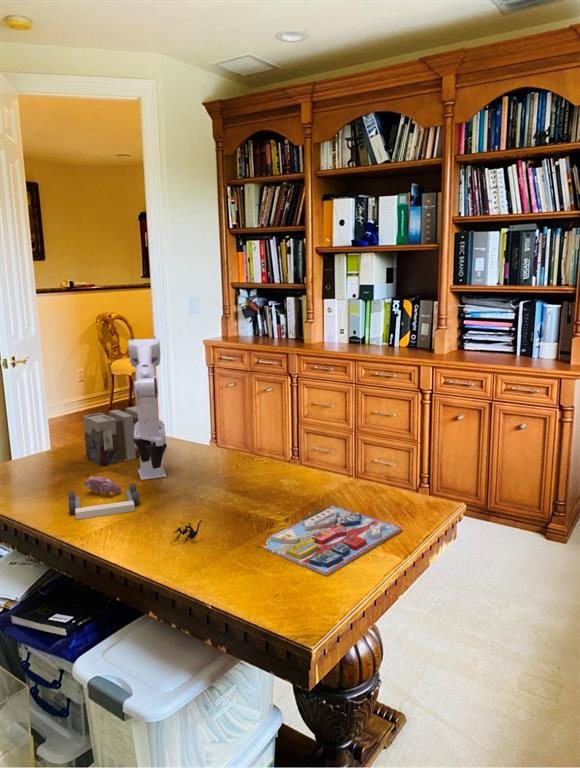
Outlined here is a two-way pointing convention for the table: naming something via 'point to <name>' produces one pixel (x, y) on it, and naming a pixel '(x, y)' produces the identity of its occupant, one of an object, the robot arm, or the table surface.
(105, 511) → the chassis
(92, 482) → the pink toy figurine
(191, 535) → the creature
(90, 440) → the bookend
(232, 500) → the table surface
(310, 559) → the puzzle board
